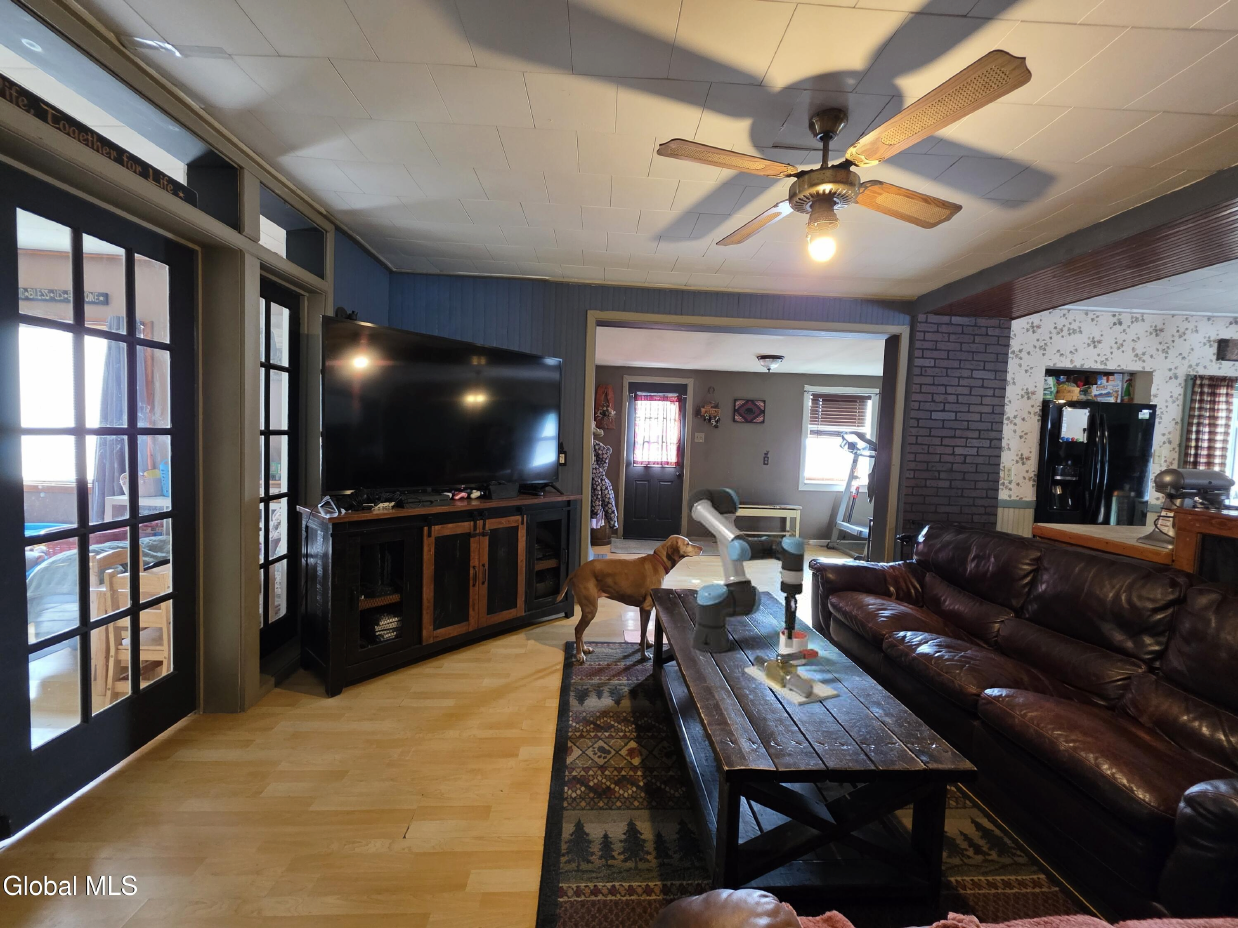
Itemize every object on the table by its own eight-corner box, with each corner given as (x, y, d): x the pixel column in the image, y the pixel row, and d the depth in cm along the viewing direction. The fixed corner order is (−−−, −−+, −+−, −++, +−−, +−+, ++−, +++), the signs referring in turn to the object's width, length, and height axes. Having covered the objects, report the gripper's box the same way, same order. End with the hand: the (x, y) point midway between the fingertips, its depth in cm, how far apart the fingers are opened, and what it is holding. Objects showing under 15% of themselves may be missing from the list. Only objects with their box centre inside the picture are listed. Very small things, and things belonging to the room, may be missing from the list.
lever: (781, 664, 174) (782, 658, 174) (773, 660, 178) (773, 654, 178) (819, 657, 181) (819, 652, 181) (810, 653, 185) (810, 647, 185)
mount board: (744, 670, 187) (744, 668, 187) (782, 663, 194) (782, 661, 194) (797, 705, 164) (797, 701, 163) (838, 695, 171) (838, 692, 171)
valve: (749, 670, 187) (750, 650, 187) (765, 667, 190) (766, 647, 189) (799, 702, 165) (800, 678, 165) (816, 698, 168) (817, 675, 168)
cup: (808, 667, 192) (810, 640, 191) (780, 664, 194) (781, 637, 193) (804, 657, 202) (806, 631, 201) (777, 654, 204) (778, 628, 203)
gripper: (778, 576, 195) (775, 639, 196) (783, 585, 182) (779, 652, 183) (799, 577, 193) (796, 641, 194) (805, 586, 180) (802, 655, 181)
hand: (788, 646), depth 188 cm, fingers closed
